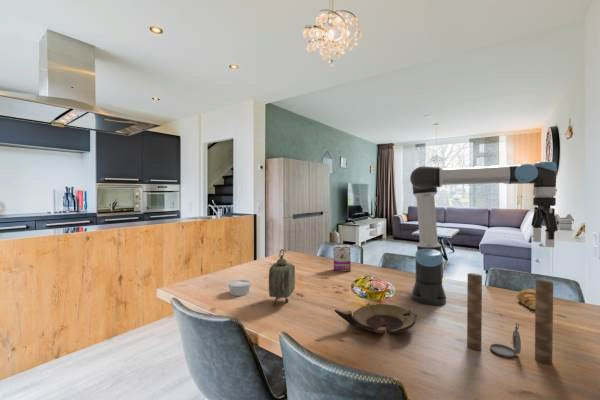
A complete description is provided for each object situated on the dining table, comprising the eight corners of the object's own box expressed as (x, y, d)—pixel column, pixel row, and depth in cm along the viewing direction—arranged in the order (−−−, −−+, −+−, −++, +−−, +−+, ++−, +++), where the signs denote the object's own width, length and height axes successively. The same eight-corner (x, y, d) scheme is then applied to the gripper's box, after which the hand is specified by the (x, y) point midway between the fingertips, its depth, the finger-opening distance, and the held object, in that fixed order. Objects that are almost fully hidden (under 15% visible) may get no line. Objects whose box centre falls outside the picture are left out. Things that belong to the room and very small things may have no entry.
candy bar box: (350, 269, 187) (350, 245, 186) (350, 271, 182) (350, 246, 182) (333, 268, 189) (333, 245, 188) (333, 270, 184) (333, 246, 183)
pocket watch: (485, 347, 91) (485, 317, 91) (508, 345, 92) (509, 316, 92) (505, 362, 83) (505, 329, 83) (531, 360, 84) (531, 327, 84)
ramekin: (253, 289, 148) (253, 279, 148) (247, 297, 137) (247, 286, 137) (233, 289, 149) (233, 279, 149) (225, 296, 138) (225, 286, 138)
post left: (468, 348, 90) (468, 275, 90) (466, 342, 94) (466, 272, 93) (482, 351, 89) (483, 277, 88) (480, 345, 92) (480, 274, 92)
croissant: (543, 321, 117) (555, 307, 115) (516, 306, 122) (528, 292, 119) (535, 304, 135) (545, 291, 132) (512, 291, 139) (521, 278, 137)
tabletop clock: (277, 295, 138) (277, 246, 138) (295, 297, 136) (295, 246, 136) (268, 307, 124) (268, 252, 124) (288, 309, 122) (288, 252, 122)
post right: (537, 362, 83) (538, 282, 82) (532, 355, 86) (533, 279, 86) (554, 365, 81) (555, 284, 81) (549, 358, 85) (550, 280, 84)
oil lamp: (422, 347, 91) (423, 324, 91) (332, 335, 99) (332, 314, 99) (413, 318, 113) (413, 299, 113) (340, 310, 121) (340, 293, 121)
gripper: (569, 197, 110) (567, 250, 110) (543, 196, 133) (541, 240, 133) (545, 196, 113) (544, 248, 113) (523, 196, 136) (522, 239, 136)
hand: (542, 244), depth 123 cm, fingers open, 13 cm apart
